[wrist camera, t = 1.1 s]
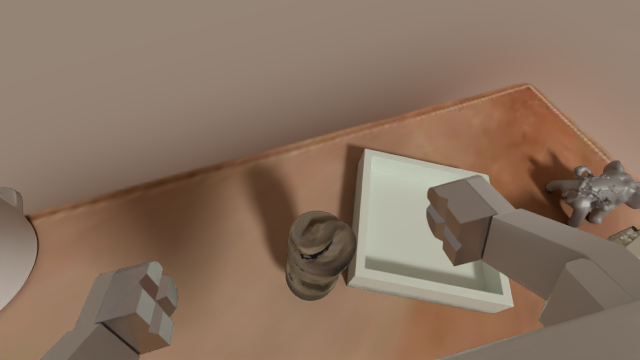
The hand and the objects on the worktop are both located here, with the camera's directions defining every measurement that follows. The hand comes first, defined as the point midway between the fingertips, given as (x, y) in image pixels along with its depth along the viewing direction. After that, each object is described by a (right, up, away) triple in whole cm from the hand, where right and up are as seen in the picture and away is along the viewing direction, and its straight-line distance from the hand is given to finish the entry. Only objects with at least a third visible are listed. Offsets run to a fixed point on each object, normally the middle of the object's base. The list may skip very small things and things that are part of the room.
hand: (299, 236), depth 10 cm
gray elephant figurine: (+42, -2, +42) cm, 59 cm away
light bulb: (-1, -11, +28) cm, 30 cm away
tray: (+14, -5, +34) cm, 37 cm away
